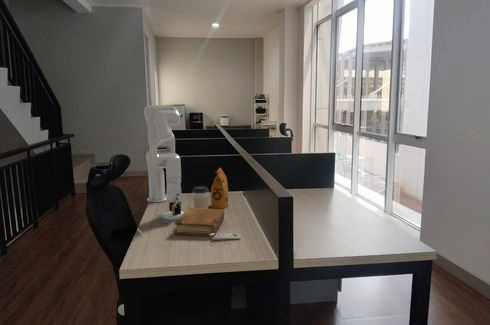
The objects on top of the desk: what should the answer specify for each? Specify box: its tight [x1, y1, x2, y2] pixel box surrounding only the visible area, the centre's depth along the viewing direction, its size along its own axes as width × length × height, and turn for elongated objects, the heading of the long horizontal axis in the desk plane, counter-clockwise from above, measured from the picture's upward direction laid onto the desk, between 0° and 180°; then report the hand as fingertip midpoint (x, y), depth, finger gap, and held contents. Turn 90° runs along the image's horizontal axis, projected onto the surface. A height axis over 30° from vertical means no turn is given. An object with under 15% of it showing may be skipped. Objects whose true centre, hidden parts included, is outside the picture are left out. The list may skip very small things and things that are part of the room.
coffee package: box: [210, 167, 229, 210], centre depth 215 cm, size 10×12×22 cm
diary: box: [174, 207, 225, 237], centre depth 180 cm, size 23×19×6 cm
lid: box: [162, 205, 184, 220], centre depth 195 cm, size 13×13×6 cm
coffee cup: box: [191, 185, 210, 209], centre depth 202 cm, size 9×9×15 cm
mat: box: [155, 210, 186, 224], centre depth 196 cm, size 16×16×1 cm
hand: (175, 212), depth 195 cm, fingers open, 6 cm apart
